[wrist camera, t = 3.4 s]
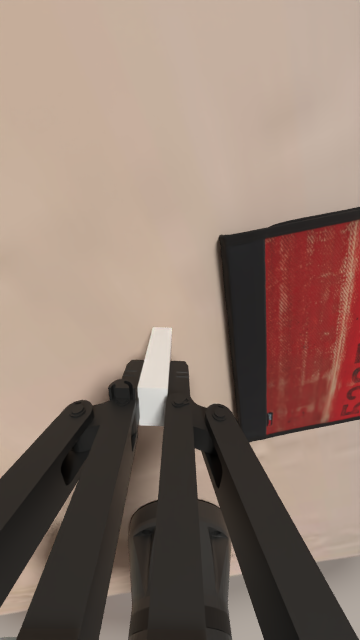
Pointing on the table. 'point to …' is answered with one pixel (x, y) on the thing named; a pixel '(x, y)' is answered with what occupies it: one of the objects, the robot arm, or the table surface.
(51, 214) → the table surface
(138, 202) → the table surface
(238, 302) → the binder
